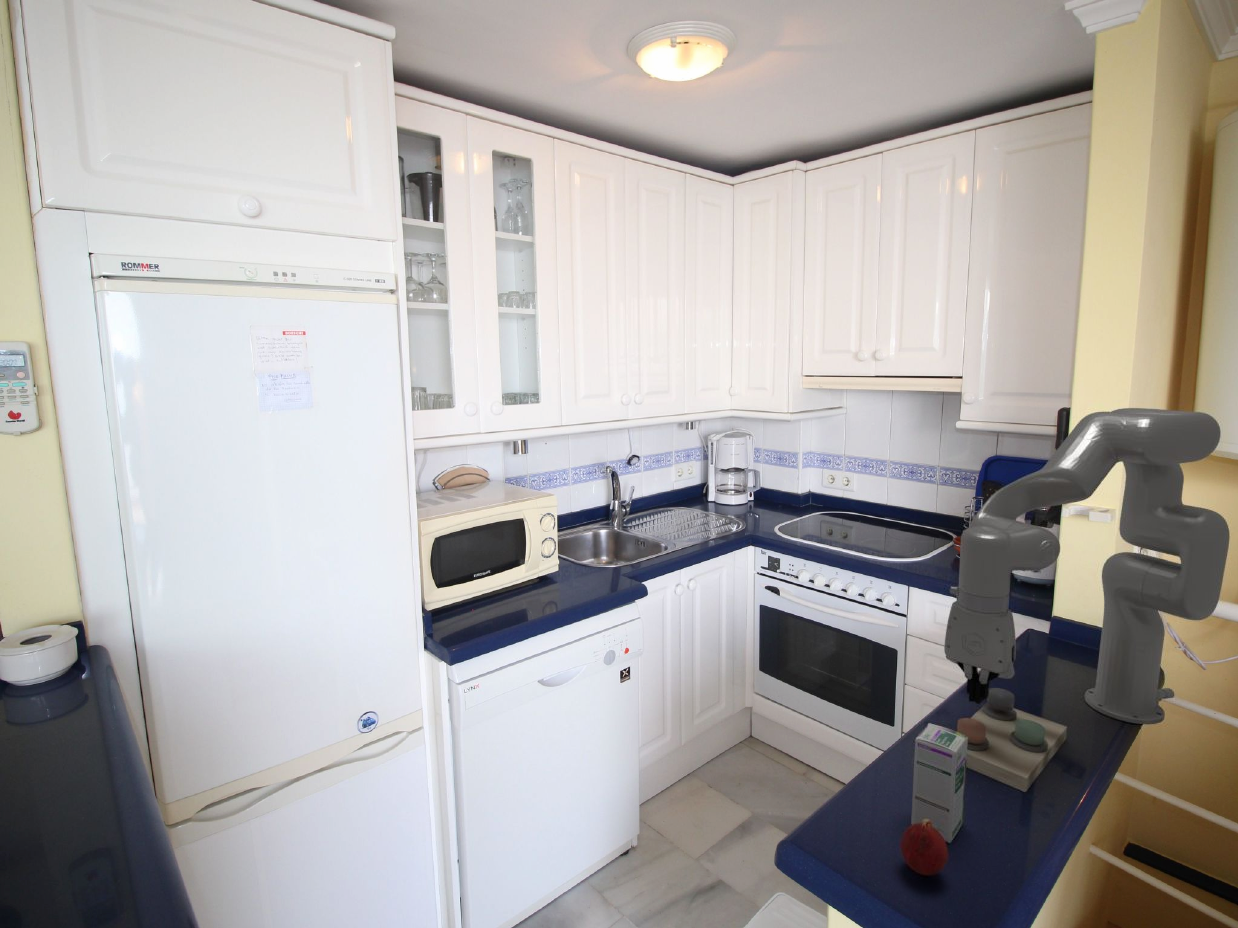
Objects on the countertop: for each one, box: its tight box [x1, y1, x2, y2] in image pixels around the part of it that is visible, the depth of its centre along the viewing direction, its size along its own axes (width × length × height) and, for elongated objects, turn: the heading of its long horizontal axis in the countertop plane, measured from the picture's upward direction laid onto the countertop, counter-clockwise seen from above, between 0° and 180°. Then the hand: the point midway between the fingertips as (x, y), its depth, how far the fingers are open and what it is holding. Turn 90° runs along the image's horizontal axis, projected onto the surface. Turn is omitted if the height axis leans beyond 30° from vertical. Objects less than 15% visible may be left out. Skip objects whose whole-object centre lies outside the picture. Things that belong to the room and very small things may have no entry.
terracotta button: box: [956, 717, 986, 744], centre depth 114 cm, size 4×4×2 cm
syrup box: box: [910, 722, 968, 844], centre depth 97 cm, size 6×6×14 cm
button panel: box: [955, 702, 1068, 793], centre depth 117 cm, size 22×13×3 cm, turn 132°
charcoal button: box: [986, 687, 1016, 711], centre depth 123 cm, size 4×4×2 cm
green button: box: [1014, 719, 1045, 745], centre depth 114 cm, size 4×4×2 cm
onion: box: [900, 819, 949, 876], centre depth 88 cm, size 6×6×8 cm
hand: (977, 699), depth 114 cm, fingers closed
